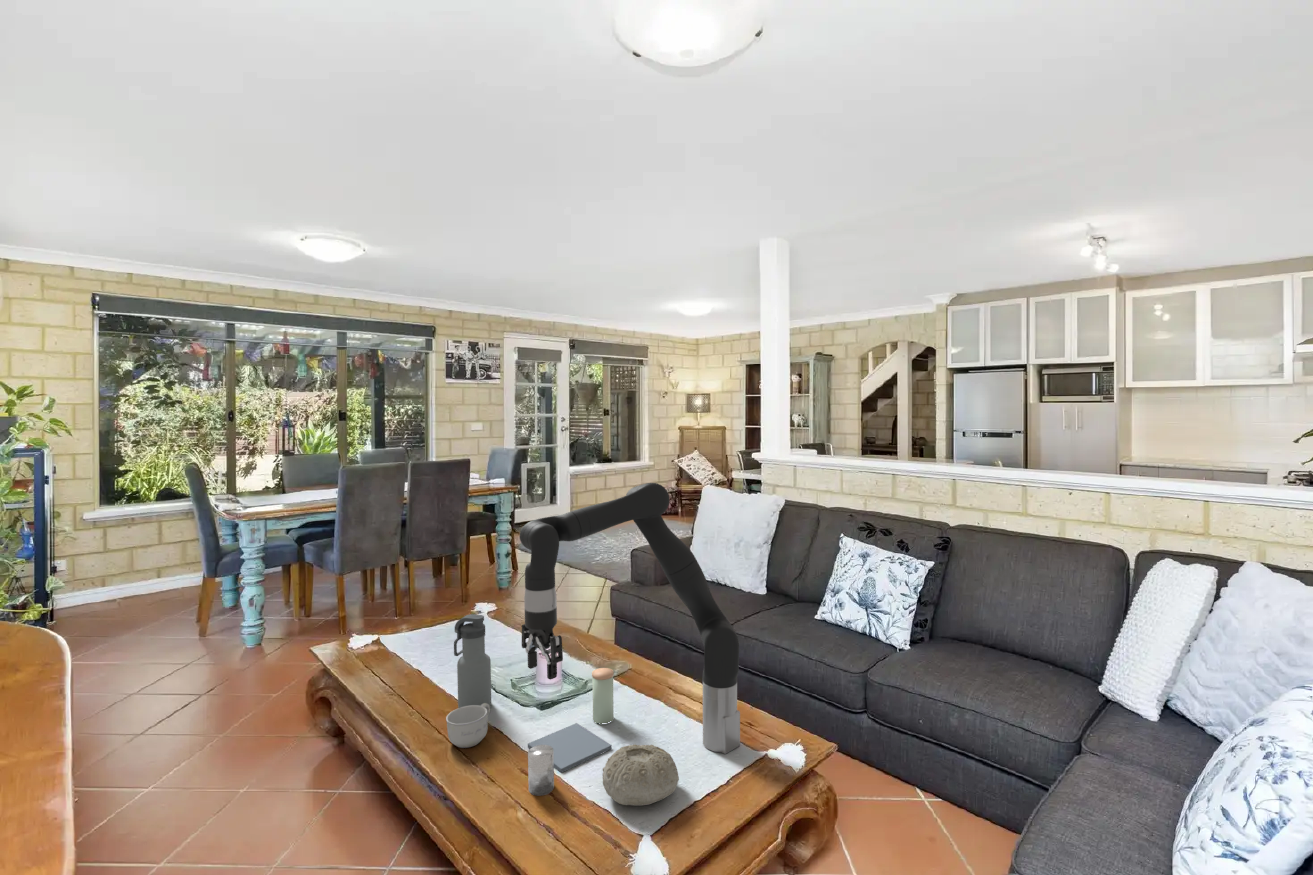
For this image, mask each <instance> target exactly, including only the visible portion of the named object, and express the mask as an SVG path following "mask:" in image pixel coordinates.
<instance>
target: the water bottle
mask: <svg viewBox="0 0 1313 875" xmlns="http://www.w3.org/2000/svg"><path fill="white" fill-rule="evenodd" d="M484 621H485V615H482V614H471V613H470V614H467V615H465V616H463V617H462V618H460V619H459V620H457V621H456V622H455V625H454V633H455V634H456V639H454V641H453V655H454V656H455V657H458V656H460V655H461V657H459V658H458V660H457V664H456V667H457V668H456V669H457V670H456V673H457V674H456V675H457V709H458V708H461V707H465V706H470V705H478V706H481V705H482V704H483V703H487V704H489V705H490V706H491V705H492V669H491V666H492V664H491V661H492V660H491V658H490V655H488V654H487V653H486V643H485V638H486V637H485V636H486V625H485V623H484ZM461 639H462V640H461ZM460 640H461V641H462V642H461V643H462V644H461V645H462V649H461V650H460V651H459V652H458V649H457V648H458V647H457V645H458V642H459V641H460Z"/></svg>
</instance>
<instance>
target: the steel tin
mask: <svg viewBox="0 0 1313 875" xmlns="http://www.w3.org/2000/svg"><path fill="white" fill-rule="evenodd" d="M527 764H528V765H527V767H528V768H527V769H528V770H527V773H528V774H527V775H528V777H527V778H528V793H529V794H531V795H533V796H535V797H537V796H539V797H541V796H545V795H546V796H547V795H548V794H550V793H552V792H553V790H554V789H555V768H554V752H553V748H552V747H551V746H549V745H537V746H534V747H532V748H531V749H529V750H528V752H527Z"/></svg>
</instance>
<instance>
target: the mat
mask: <svg viewBox="0 0 1313 875" xmlns="http://www.w3.org/2000/svg"><path fill="white" fill-rule="evenodd" d="M537 745H549V746H551V747H552V748H553V752H554V769H556V771H558V772H560V773H563V772H565V771H567V770H570V769H572V768H573V767H576V766H578V765H581V764H582V763H585V762H587V761H589V760H591V759H593V758H595V757H597V756H600V755H601V753H602V754H603V752H604V753H605V752H607V751H610V750H612V744H611V743H609V742H608V741H606V740H604V738H601V737H600V736H598V735H597V734H595V733H593V732H592V731H590V730H588V729H587V728H585V727H584V726H582V725H580V724H579V723H577V722H575V723H574V724H571V725H569V726H565V727H563V728H562V729H559V730H557V731H554V732H552V733H549V734H548V735H544V736H542V737H540V738H537V739H535V740H533V741H531V742H528V743H527V748H528V749H529V750H530V749H531V748H532V747H534V746H537Z"/></svg>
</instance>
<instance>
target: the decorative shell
mask: <svg viewBox="0 0 1313 875" xmlns="http://www.w3.org/2000/svg"><path fill="white" fill-rule="evenodd" d="M679 781H680V777H679V771H678V768H677V765H676V762H675V761H674V759H673V757H672V755H671V753H669V752H668V751H666V750H665V749H663V748H661V747H659V746H656V745H654V744H650V745H649V744H646V745H645V744H642V745H640V744H636V743H635V744H630V745H625V746H622V747H620V748H618V749H617V750H616V751H614V752H613V753H612V755H611V756H610V757H609V758H607V760H606V762H605V765H604V767H603V768H602V786H603V788H604V791H605V792H606V794H607V796H609V797H610V798H611V799H613V801H615V803H617V804H619V805H623V806H638V807H639V806H646V805H651V804H655V803H656V802H659V801H661V800H664V799H666V798H667V797H669V796H670V795H671V794H673V793H674V792H675V791H676V788H677V787H678V784H679Z"/></svg>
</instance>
